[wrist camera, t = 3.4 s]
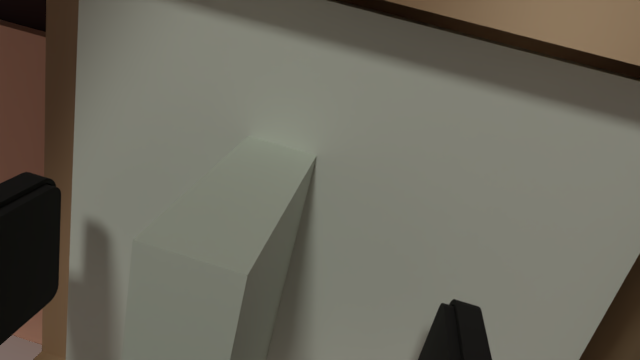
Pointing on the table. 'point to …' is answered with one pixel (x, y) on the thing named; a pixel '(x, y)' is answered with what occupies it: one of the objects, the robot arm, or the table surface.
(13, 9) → the table surface
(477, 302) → the cover plate
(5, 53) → the terracotta tile
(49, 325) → the oak box
